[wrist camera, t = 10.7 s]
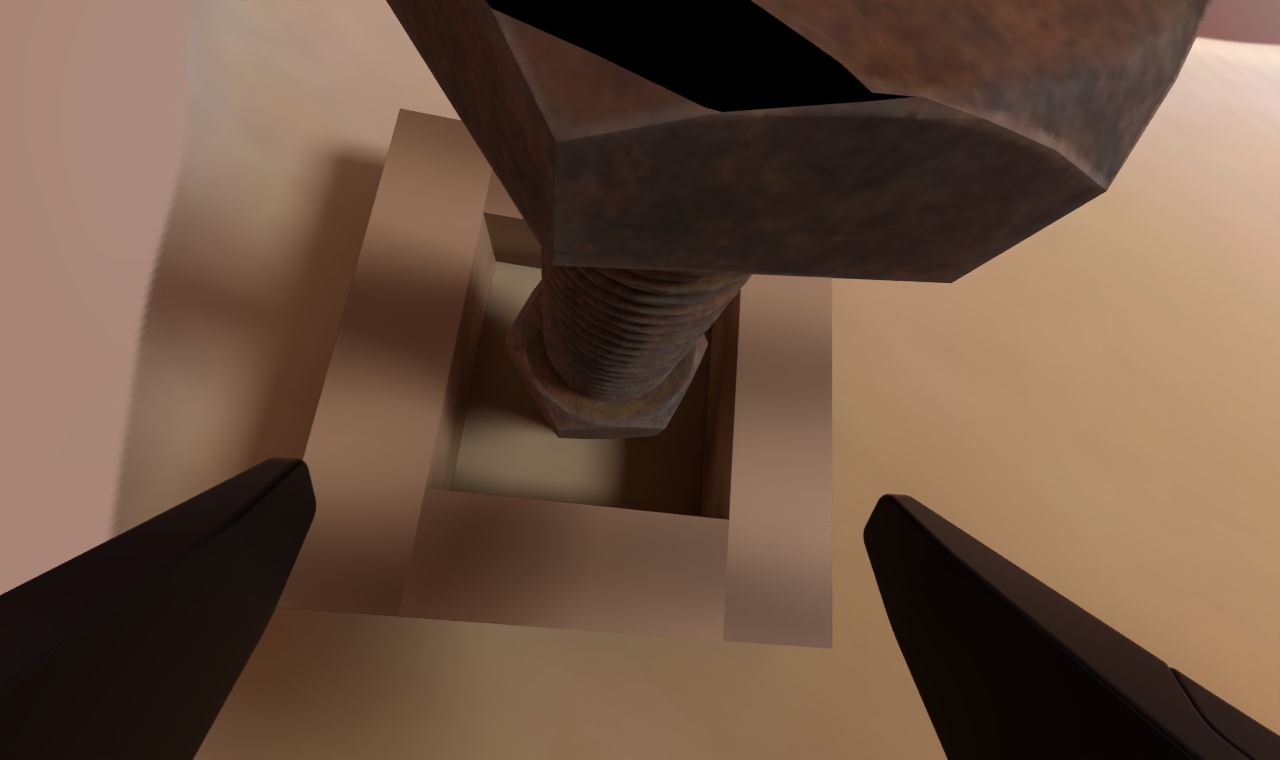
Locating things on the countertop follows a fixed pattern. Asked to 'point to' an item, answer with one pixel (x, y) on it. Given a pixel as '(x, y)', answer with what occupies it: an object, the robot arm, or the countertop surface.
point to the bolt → (775, 154)
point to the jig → (538, 529)
